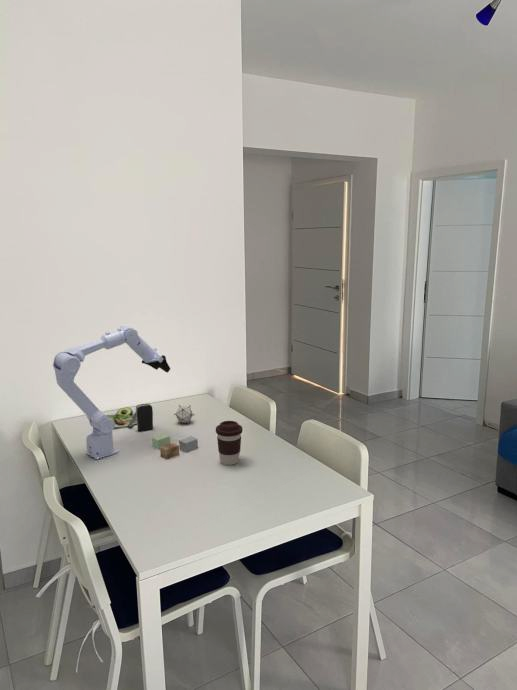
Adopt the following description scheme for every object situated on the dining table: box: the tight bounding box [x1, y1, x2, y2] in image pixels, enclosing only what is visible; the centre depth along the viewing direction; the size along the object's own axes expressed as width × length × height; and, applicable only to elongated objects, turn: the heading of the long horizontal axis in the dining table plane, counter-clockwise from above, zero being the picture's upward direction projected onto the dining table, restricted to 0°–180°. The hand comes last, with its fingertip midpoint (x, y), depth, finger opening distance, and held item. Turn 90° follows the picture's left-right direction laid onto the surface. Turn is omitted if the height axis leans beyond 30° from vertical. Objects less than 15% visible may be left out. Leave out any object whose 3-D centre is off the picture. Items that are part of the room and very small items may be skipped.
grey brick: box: [178, 435, 199, 453], centre depth 210 cm, size 6×4×4 cm, turn 135°
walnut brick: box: [159, 442, 180, 460], centre depth 203 cm, size 6×4×4 cm, turn 135°
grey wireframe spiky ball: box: [173, 404, 195, 425], centre depth 237 cm, size 9×8×10 cm
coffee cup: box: [215, 420, 243, 466], centre depth 197 cm, size 10×10×15 cm
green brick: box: [151, 433, 172, 450], centre depth 212 cm, size 6×4×4 cm, turn 135°
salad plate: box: [105, 406, 137, 430], centre depth 238 cm, size 19×18×5 cm
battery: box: [135, 403, 154, 432], centre depth 229 cm, size 7×4×11 cm, turn 115°
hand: (163, 369), depth 218 cm, fingers open, 7 cm apart
